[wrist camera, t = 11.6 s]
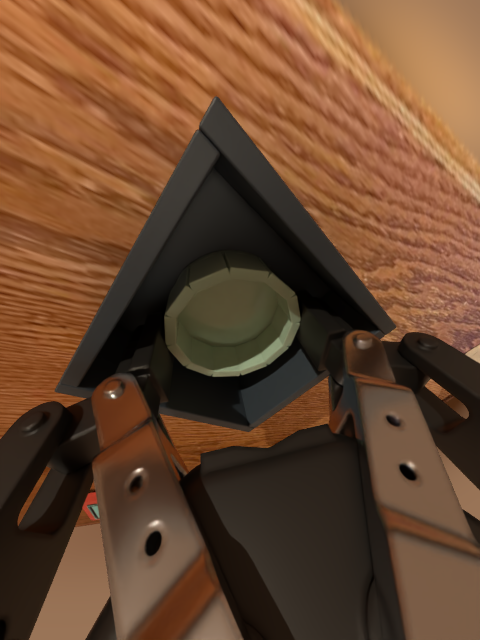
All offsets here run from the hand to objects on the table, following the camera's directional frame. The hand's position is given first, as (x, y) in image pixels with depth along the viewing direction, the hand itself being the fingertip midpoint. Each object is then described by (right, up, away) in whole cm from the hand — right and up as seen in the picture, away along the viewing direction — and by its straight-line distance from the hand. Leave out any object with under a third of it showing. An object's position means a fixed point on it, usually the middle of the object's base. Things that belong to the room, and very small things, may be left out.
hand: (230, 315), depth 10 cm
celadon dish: (0, +1, +1) cm, 1 cm away
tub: (0, +1, +1) cm, 2 cm away
